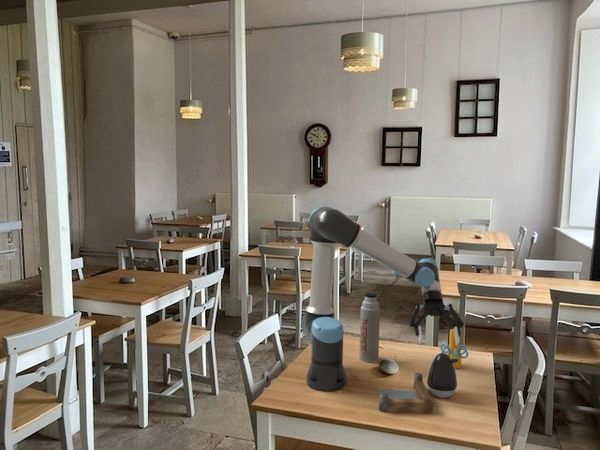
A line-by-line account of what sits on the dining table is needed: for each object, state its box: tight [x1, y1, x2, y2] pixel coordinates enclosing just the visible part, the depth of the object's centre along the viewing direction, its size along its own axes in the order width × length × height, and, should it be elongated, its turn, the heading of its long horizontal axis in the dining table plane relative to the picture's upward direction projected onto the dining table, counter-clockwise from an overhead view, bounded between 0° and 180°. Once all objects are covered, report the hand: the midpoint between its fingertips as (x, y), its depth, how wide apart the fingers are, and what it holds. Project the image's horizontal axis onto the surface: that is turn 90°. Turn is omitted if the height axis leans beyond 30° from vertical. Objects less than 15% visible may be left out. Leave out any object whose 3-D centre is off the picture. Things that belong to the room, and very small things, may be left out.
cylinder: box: [440, 328, 469, 370], centre depth 203 cm, size 12×10×15 cm
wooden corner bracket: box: [378, 372, 434, 414], centre depth 174 cm, size 18×21×5 cm
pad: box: [377, 389, 418, 399], centre depth 173 cm, size 13×13×1 cm
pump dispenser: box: [426, 352, 458, 399], centre depth 177 cm, size 10×10×15 cm
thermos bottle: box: [358, 292, 381, 363], centre depth 209 cm, size 8×8×28 cm
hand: (439, 343), depth 185 cm, fingers open, 13 cm apart
